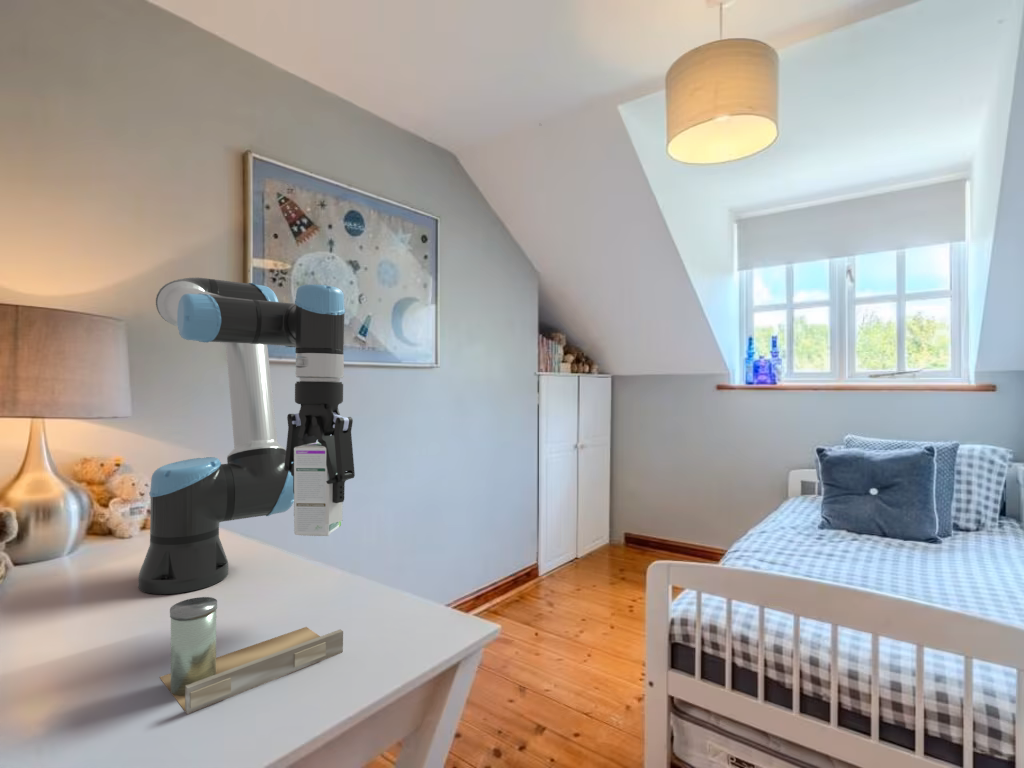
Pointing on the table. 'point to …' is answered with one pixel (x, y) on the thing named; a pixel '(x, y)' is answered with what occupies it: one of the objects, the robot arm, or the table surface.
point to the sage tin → (192, 642)
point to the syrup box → (311, 491)
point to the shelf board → (258, 666)
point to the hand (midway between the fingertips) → (317, 518)
